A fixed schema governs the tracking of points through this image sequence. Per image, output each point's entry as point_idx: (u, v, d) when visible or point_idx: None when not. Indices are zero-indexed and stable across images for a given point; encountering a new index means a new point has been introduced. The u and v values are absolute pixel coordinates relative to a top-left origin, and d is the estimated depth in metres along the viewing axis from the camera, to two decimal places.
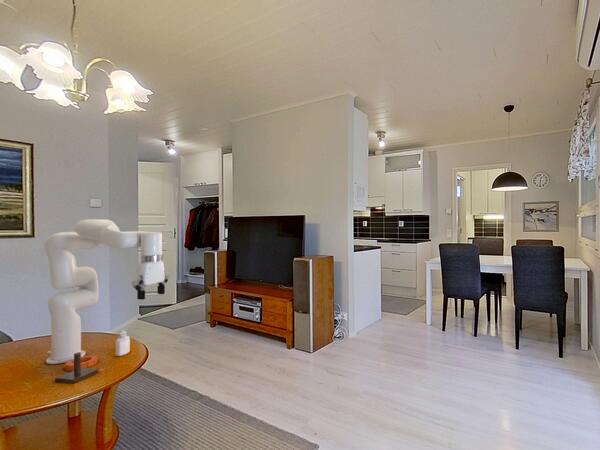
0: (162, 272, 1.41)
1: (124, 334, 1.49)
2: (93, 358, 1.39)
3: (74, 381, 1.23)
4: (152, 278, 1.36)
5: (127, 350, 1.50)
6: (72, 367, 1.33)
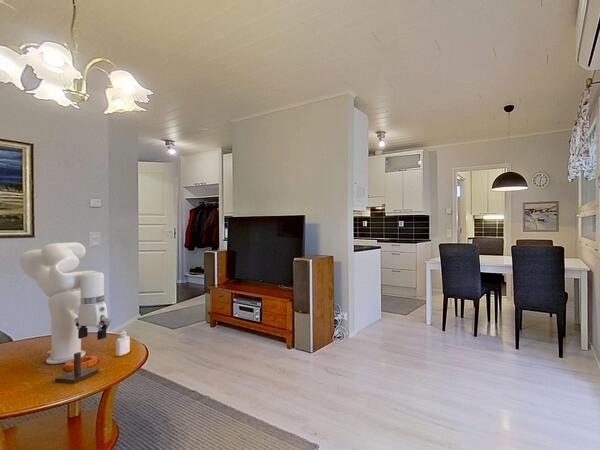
0: (93, 316, 1.34)
1: (124, 334, 1.49)
2: (93, 358, 1.39)
3: (74, 381, 1.23)
4: (83, 320, 1.35)
5: (127, 350, 1.50)
6: (72, 367, 1.33)
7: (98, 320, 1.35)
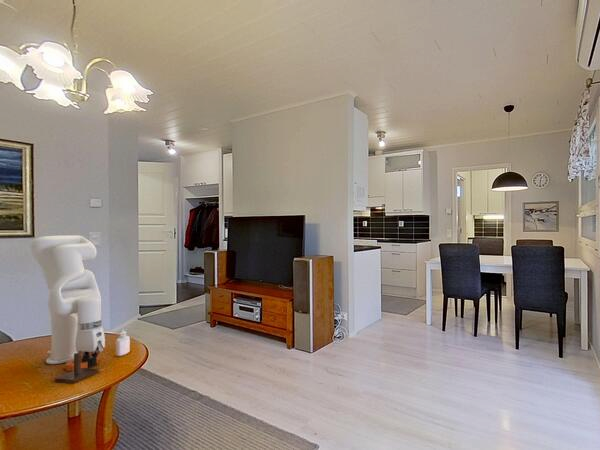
0: (90, 342, 1.34)
1: (124, 334, 1.49)
2: None
3: (74, 381, 1.23)
4: (80, 345, 1.35)
5: (127, 350, 1.50)
6: (72, 367, 1.33)
7: (95, 345, 1.35)
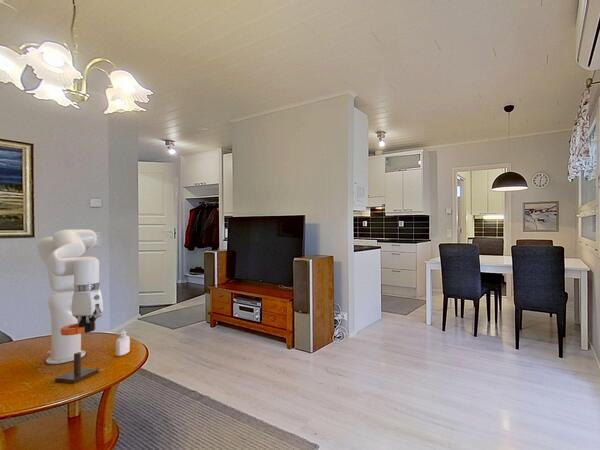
0: (87, 305, 1.26)
1: (124, 334, 1.49)
2: None
3: (74, 381, 1.23)
4: (76, 309, 1.26)
5: (127, 350, 1.50)
6: (68, 331, 1.24)
7: (93, 309, 1.26)
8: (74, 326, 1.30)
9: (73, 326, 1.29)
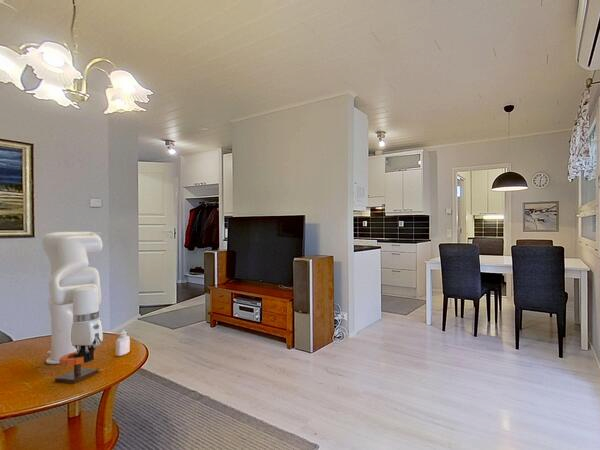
0: (86, 335, 1.24)
1: (124, 334, 1.49)
2: None
3: (74, 381, 1.23)
4: (75, 339, 1.25)
5: (127, 350, 1.50)
6: (67, 362, 1.22)
7: (92, 339, 1.25)
8: (73, 355, 1.28)
9: (72, 355, 1.28)
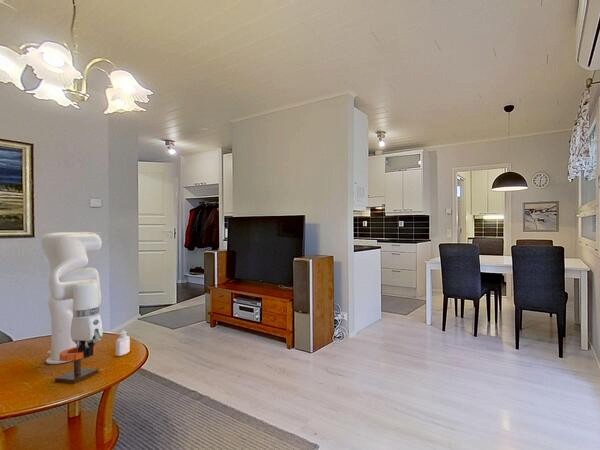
0: (86, 330, 1.24)
1: (124, 334, 1.49)
2: None
3: (74, 381, 1.23)
4: (75, 334, 1.25)
5: (127, 350, 1.50)
6: (67, 357, 1.22)
7: (92, 334, 1.25)
8: (73, 350, 1.28)
9: (72, 350, 1.28)
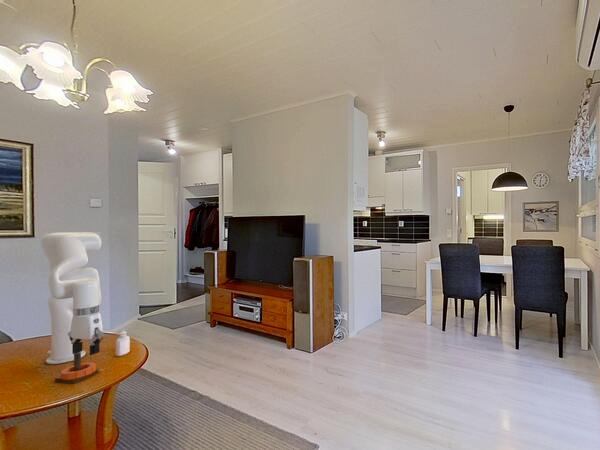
0: (86, 329, 1.24)
1: (124, 334, 1.49)
2: (91, 365, 1.29)
3: (74, 381, 1.23)
4: (75, 333, 1.25)
5: (127, 350, 1.50)
6: (68, 376, 1.22)
7: (92, 333, 1.25)
8: None
9: (73, 368, 1.28)
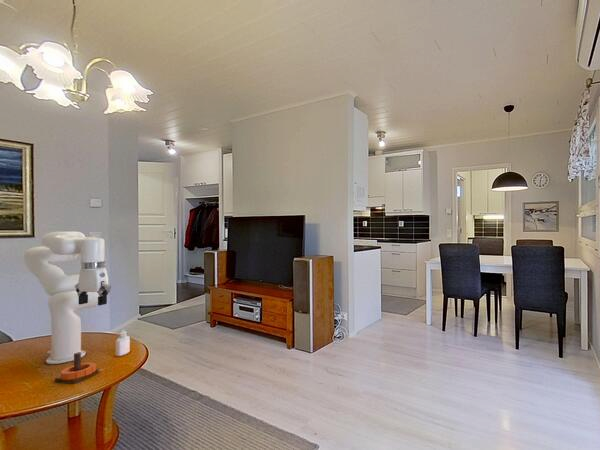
0: (93, 281, 1.33)
1: (124, 334, 1.49)
2: (91, 365, 1.29)
3: (74, 381, 1.23)
4: (83, 285, 1.33)
5: (127, 350, 1.50)
6: (68, 376, 1.22)
7: (98, 285, 1.33)
8: None
9: (73, 368, 1.28)
